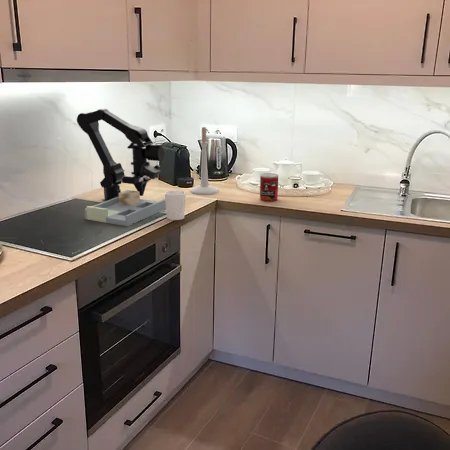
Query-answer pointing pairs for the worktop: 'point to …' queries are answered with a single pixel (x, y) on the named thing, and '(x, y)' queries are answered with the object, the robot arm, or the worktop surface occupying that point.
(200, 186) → the candlestick
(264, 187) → the canned food
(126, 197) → the maple block
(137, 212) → the board
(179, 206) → the white cup
